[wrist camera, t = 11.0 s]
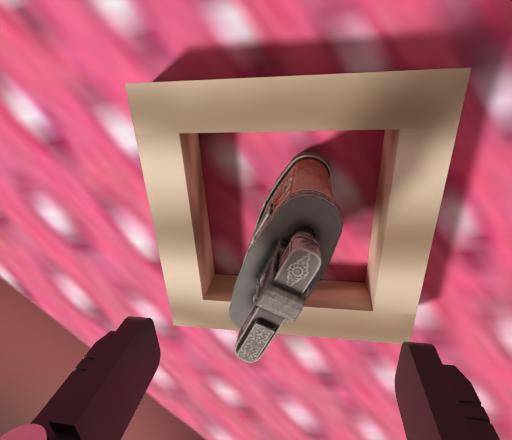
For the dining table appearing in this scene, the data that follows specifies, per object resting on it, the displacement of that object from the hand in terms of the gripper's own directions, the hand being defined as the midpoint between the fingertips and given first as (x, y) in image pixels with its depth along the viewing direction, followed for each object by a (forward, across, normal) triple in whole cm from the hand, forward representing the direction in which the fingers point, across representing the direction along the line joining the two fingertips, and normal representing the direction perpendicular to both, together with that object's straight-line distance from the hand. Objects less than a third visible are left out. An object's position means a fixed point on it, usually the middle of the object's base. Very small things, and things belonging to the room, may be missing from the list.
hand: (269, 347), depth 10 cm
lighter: (+12, 0, 0) cm, 12 cm away
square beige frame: (+12, 0, 0) cm, 12 cm away
